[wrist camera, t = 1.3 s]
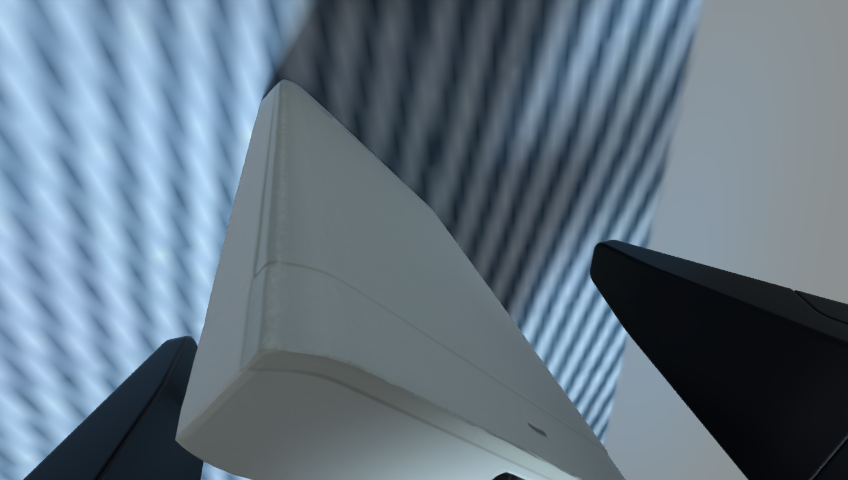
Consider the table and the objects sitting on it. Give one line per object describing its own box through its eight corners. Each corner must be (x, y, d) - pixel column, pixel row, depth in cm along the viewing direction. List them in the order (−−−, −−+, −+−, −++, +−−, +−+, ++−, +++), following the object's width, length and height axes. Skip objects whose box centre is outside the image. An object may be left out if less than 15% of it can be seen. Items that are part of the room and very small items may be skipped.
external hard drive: (287, 70, 13) (286, 328, 3) (441, 216, 17) (663, 520, 7) (255, 107, 13) (140, 468, 3) (415, 241, 18) (592, 570, 7)
